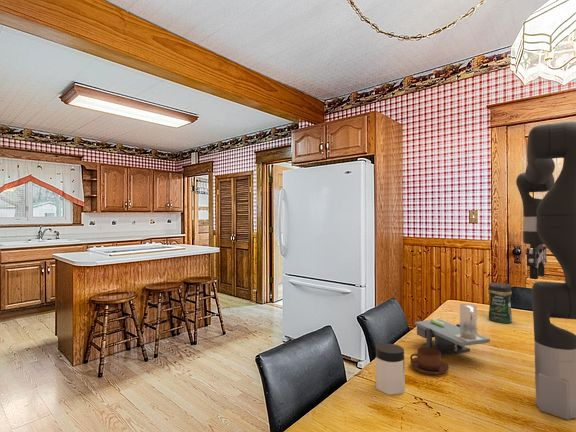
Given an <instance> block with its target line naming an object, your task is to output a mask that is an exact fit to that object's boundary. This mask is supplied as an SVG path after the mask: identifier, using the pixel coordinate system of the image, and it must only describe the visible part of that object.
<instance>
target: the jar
mask: <svg viewBox="0 0 576 432" xmlns="http://www.w3.org/2000/svg"><path fill="white" fill-rule="evenodd" d="M374 359H375V389H376V390H378V391H380V392H382V393H384V394H385V395H388V396H390V395H403V394H404V391H405V388H406V376H405V375H406V373H405V372H406V371H405V367H406V366H405V349H404V348H403V346H401V345H399V344H396V343H387V342H386V343H379V344H377V345H376V346H375V358H374Z"/></svg>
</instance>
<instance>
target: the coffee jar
mask: <svg viewBox="0 0 576 432" xmlns="http://www.w3.org/2000/svg"><path fill="white" fill-rule="evenodd" d="M487 291H488V294H489V309H488V320H489V321H492V322H495V323H501V324H511V323H513V315H512V306H511V296H512V293H513V291H512V286H511V284H510V283H503V282H502V283H501V282H489V284H488V290H487Z"/></svg>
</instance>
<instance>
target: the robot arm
mask: <svg viewBox="0 0 576 432" xmlns="http://www.w3.org/2000/svg"><path fill="white" fill-rule="evenodd" d="M527 135H528V136H527V141H526V142H527V143H526V161H527V166H526V168H525V170H524V171H525V172H520V173H519V174H518V175H517V176H516V180H515V183H516V187H517V189H518V190H517V191H518V192H519V195H520V198H521V202H522V209H523V211H522V216H523V217H522V218H523V219H522V242H523V244H524V245H525V244H526V245H529V247H527V248H526V266H527V267H528V268H529V279H530V280H538V279H539V277H545V276H546V271H545V269H546V267H545V265H546V263H548V260H547V249H548V250H549V251H550V253H551V254H552V255H553V257H554V258H555V259H556V260H557V262H558V264H559V266H560V267H561V269H562V272H563V275H564V282H554V281H551V282H550V281H536V282H534V283H533V285H532V286H531V306H532V317H533V318H532V319H533V321H532V322H533V339H534V342H533V346H534V377H535V378H534V383H535V384H534V385H535V404H536V406H537V407H538V410H539V411H540V412H543V413H547V414H548V415H553V416H556V417H559V418H561V419H563V420H567V421H569V420H570V419H576V333H575V334H574V333H573V332H571V331H570V330H567V329H564V328H561V327H558V326H557V325H555V324H553V323H551V320H550V319H551V318H552V319H561V320H562V319H564V320H565V319H566V320H576V120H575V121H574V120H572V121H571V120H570V121H561V122H552V123H545V124H539V125H535V126H534V127H532V128H531V129H530V130H529V133H528V134H527ZM554 159H563V163H562V168H561V170H560V172H559V175H558V176H557V178H556V180H555V177H554V172H555V168H556V163H555V161H554ZM545 192H546V194H545V195H544V196H543V198H538V197H537V198H535V197H533V196H531V194H530V193H545Z"/></svg>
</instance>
